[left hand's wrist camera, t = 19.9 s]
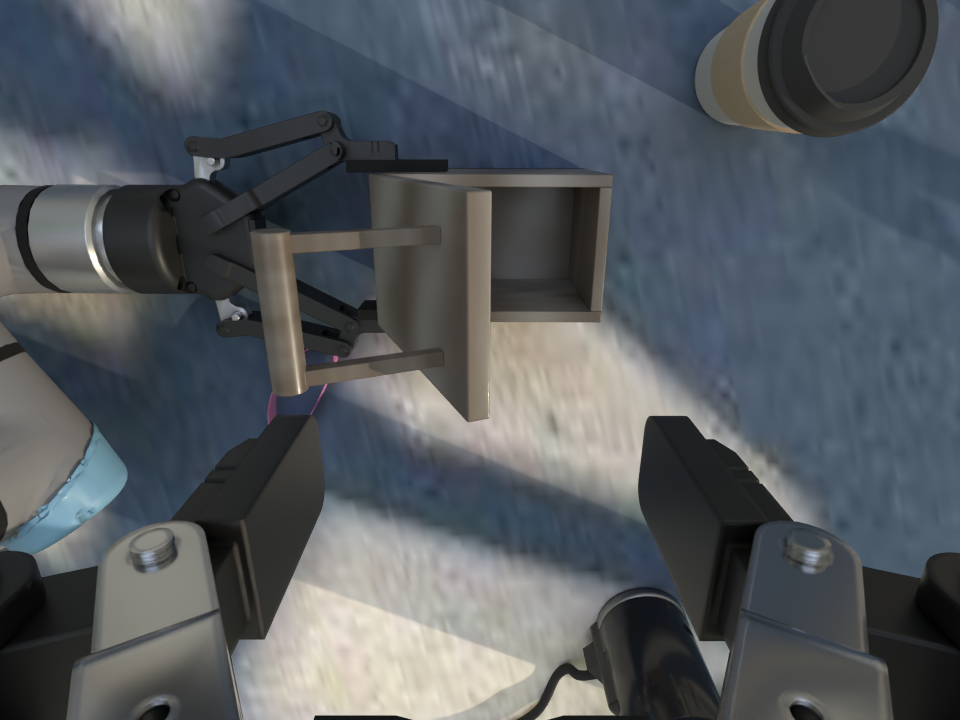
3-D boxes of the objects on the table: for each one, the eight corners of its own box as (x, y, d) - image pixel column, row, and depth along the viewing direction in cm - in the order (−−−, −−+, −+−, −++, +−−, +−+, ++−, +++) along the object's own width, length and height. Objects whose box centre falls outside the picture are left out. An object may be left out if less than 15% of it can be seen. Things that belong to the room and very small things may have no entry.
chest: (583, 168, 44) (613, 174, 34) (575, 285, 47) (600, 322, 37) (401, 167, 44) (378, 173, 34) (407, 285, 47) (386, 321, 37)
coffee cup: (756, -27, 39) (911, -124, 25) (826, 76, 41) (1003, 38, 27) (655, 74, 41) (744, 35, 27) (726, 166, 44) (842, 173, 30)
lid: (492, 190, 21) (247, 196, 17) (490, 418, 24) (284, 459, 21) (385, 173, 34) (234, 176, 30) (393, 323, 37) (258, 339, 34)
